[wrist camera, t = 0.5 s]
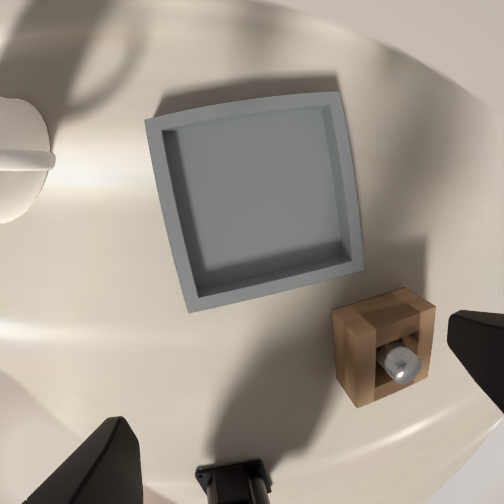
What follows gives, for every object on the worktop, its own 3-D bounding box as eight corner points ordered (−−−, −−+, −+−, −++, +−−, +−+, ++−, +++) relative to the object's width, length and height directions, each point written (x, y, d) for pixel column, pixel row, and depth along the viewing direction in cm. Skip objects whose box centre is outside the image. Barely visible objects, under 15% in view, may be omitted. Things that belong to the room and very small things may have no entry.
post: (382, 341, 23) (419, 377, 18) (359, 350, 23) (393, 389, 18) (382, 318, 23) (423, 352, 17) (358, 326, 23) (396, 364, 17)
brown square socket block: (401, 353, 24) (427, 377, 20) (336, 378, 23) (356, 408, 20) (404, 287, 22) (435, 306, 19) (331, 310, 22) (356, 336, 18)
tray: (350, 261, 21) (364, 270, 19) (189, 300, 20) (188, 313, 18) (326, 98, 18) (339, 91, 16) (149, 125, 17) (144, 119, 15)
